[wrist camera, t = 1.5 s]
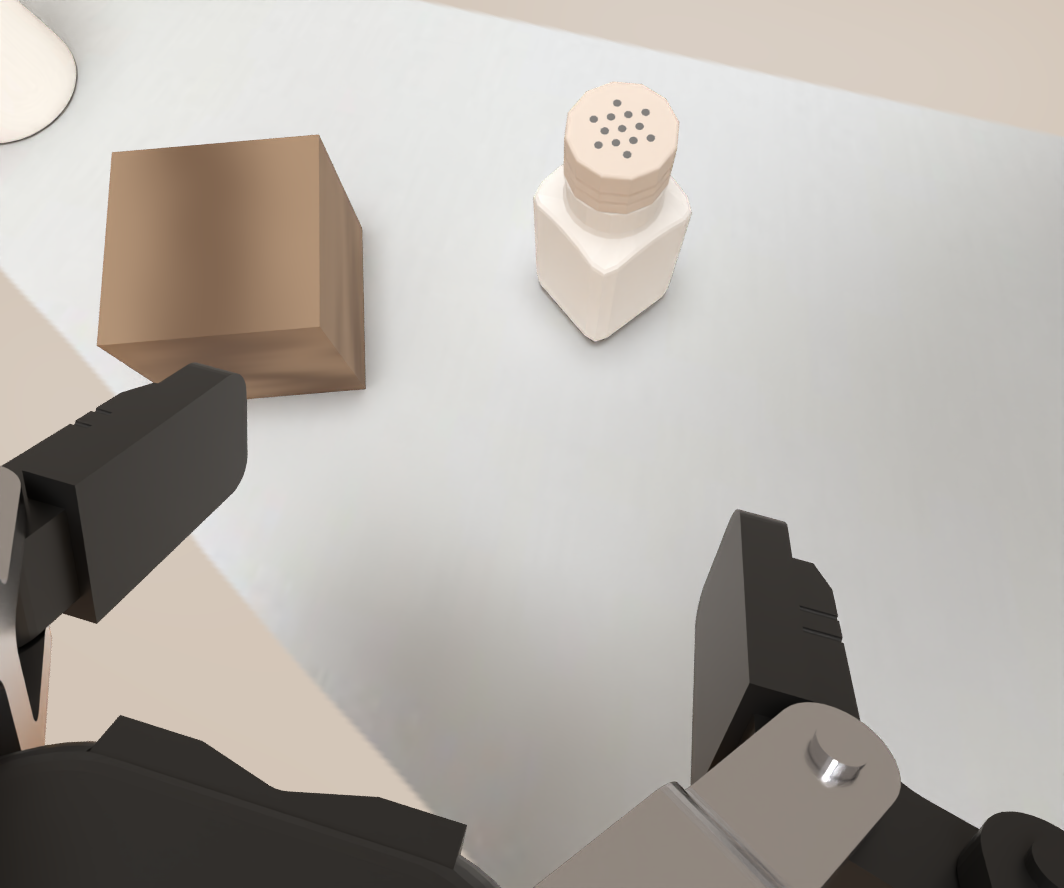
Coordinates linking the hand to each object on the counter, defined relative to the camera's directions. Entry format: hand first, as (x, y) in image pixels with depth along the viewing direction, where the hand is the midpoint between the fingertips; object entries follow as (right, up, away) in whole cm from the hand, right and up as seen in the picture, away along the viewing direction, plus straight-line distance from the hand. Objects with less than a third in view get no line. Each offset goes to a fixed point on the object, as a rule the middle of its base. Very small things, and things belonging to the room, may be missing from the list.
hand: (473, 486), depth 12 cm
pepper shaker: (+4, +7, +18) cm, 20 cm away
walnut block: (-9, +6, +18) cm, 21 cm away
